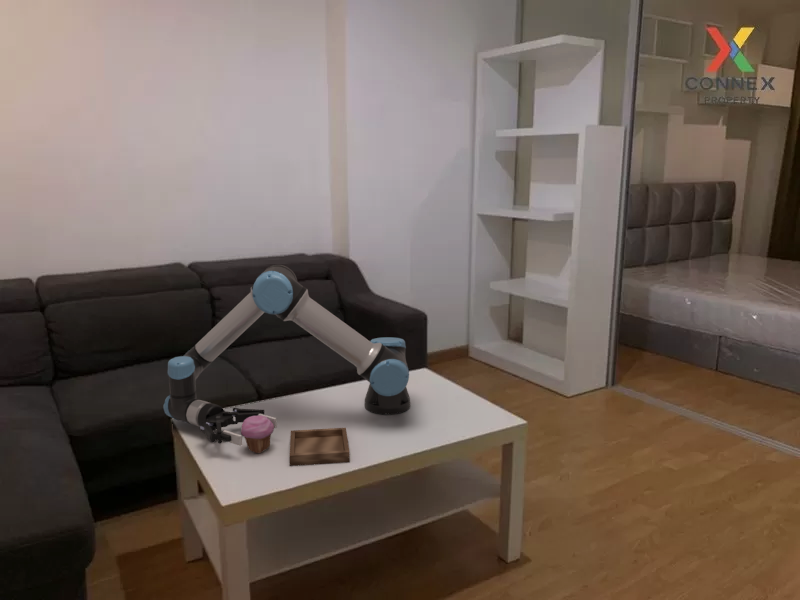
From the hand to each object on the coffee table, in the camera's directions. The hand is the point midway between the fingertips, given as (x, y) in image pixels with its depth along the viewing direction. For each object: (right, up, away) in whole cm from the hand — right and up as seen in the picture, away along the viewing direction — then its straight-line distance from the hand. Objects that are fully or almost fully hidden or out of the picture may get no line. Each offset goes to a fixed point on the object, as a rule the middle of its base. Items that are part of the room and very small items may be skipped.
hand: (259, 431), depth 179 cm
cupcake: (-1, -6, +2) cm, 6 cm away
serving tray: (+17, -6, +1) cm, 18 cm away
